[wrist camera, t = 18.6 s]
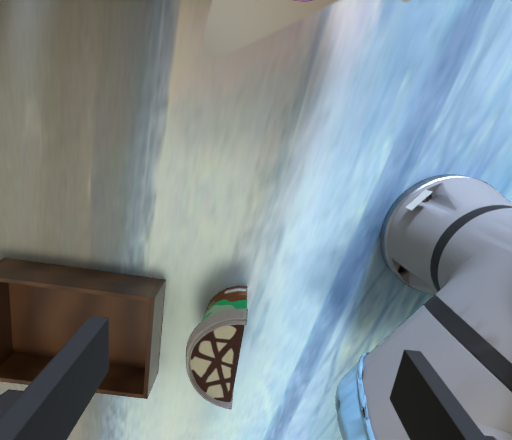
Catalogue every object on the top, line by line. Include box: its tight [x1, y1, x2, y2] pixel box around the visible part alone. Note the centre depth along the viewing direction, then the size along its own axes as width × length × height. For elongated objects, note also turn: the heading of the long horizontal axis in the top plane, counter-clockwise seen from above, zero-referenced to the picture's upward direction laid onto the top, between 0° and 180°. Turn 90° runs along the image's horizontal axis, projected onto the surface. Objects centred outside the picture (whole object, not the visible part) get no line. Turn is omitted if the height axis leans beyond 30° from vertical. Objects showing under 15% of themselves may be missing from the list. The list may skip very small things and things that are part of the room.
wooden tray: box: [0, 258, 166, 399], centre depth 41 cm, size 21×15×5 cm
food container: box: [186, 286, 248, 409], centre depth 39 cm, size 12×6×10 cm, turn 171°
